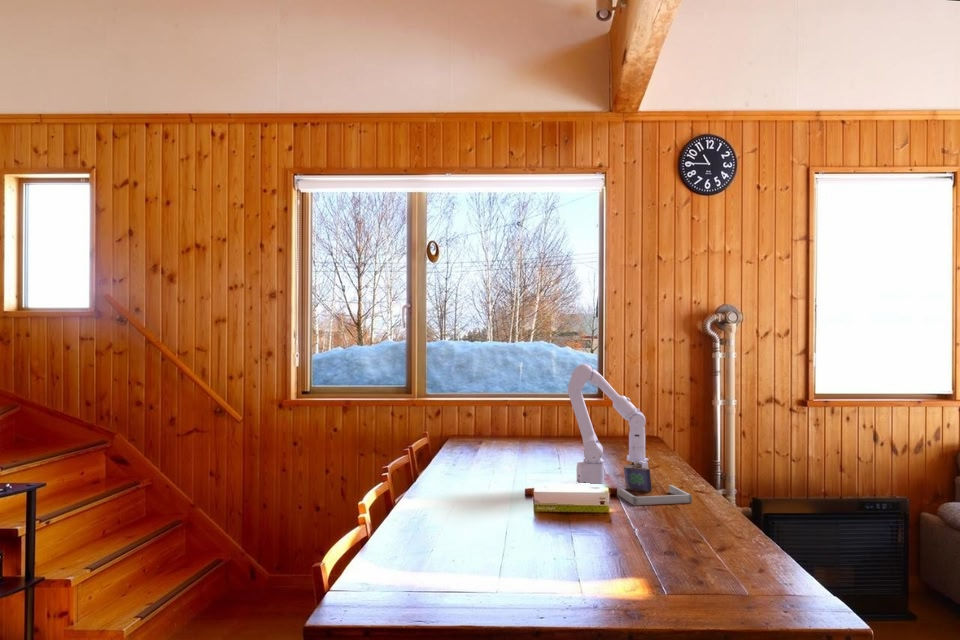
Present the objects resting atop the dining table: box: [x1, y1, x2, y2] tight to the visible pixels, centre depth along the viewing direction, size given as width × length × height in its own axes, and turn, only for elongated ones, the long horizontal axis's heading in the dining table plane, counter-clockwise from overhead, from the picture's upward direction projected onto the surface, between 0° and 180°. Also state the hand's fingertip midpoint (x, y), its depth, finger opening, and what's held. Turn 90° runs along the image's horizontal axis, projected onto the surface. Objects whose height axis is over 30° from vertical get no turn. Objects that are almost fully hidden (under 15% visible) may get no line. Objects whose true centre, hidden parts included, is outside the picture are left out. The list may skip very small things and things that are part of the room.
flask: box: [623, 461, 653, 493], centre depth 258 cm, size 9×3×11 cm, turn 63°
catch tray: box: [616, 484, 693, 506], centre depth 247 cm, size 20×15×2 cm
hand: (637, 484), depth 261 cm, fingers closed, pressing on flask
